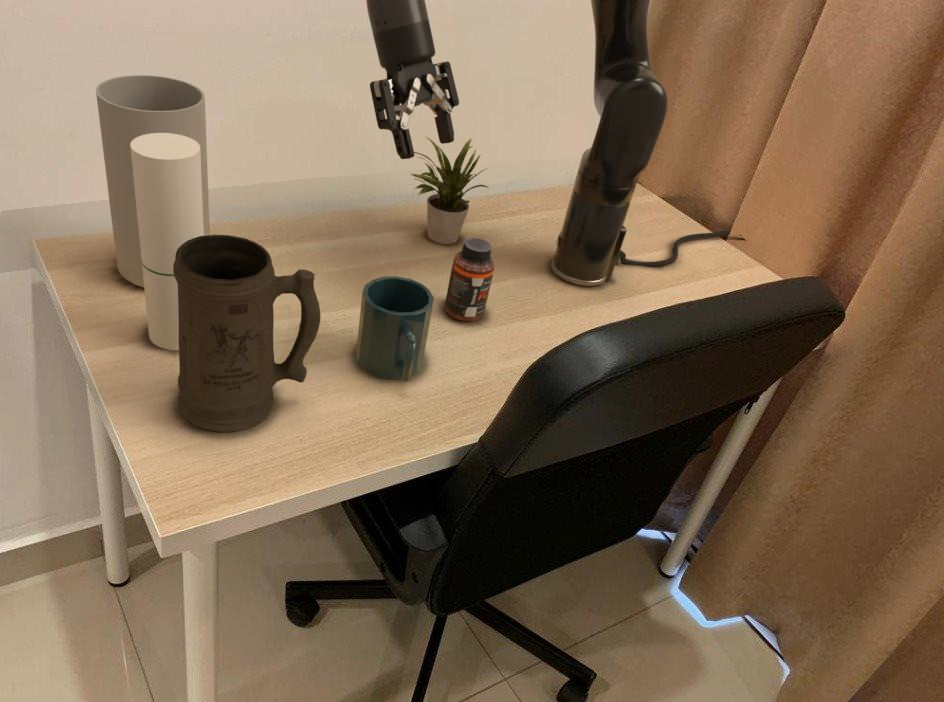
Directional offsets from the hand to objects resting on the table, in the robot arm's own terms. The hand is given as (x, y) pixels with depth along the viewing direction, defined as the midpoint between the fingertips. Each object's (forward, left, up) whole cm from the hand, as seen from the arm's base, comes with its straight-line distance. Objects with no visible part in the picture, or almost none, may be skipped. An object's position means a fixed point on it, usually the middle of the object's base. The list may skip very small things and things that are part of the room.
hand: (428, 150), depth 106 cm
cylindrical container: (+34, +12, -21) cm, 42 cm away
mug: (+8, +22, -20) cm, 31 cm away
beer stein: (+27, +26, -21) cm, 43 cm away
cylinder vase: (+35, -4, -20) cm, 41 cm away
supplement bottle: (-6, +10, -21) cm, 24 cm away
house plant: (-10, -14, -21) cm, 27 cm away
